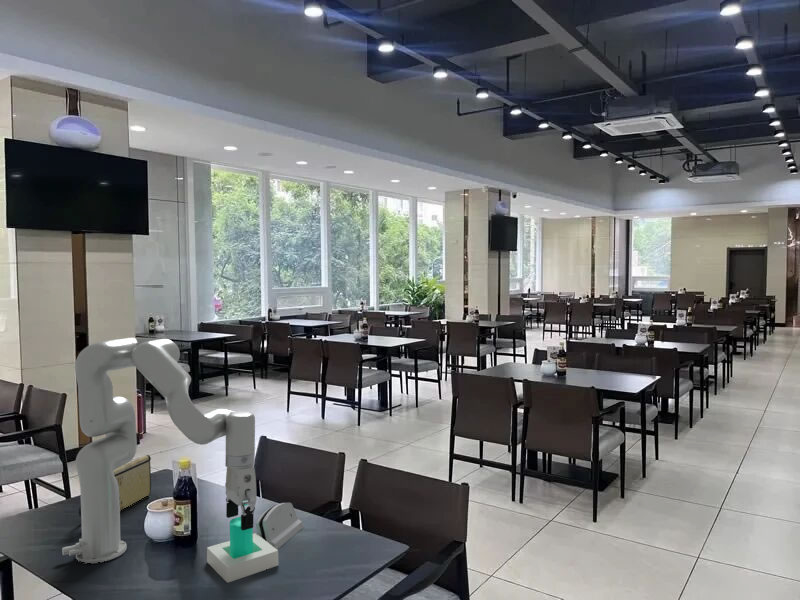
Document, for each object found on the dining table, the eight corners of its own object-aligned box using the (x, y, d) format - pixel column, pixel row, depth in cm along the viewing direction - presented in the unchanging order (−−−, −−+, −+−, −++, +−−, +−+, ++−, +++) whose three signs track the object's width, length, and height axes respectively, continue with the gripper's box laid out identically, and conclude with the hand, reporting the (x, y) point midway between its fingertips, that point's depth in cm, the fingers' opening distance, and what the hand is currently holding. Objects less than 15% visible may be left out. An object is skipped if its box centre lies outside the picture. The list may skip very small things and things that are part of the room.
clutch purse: (137, 493, 207) (137, 452, 206) (154, 495, 205) (153, 453, 204) (72, 527, 178) (71, 480, 177) (91, 530, 176) (90, 481, 176)
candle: (232, 555, 156) (231, 511, 156) (255, 554, 157) (254, 510, 156) (227, 565, 150) (226, 520, 150) (251, 564, 151) (250, 519, 150)
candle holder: (227, 582, 143) (227, 567, 143) (207, 562, 154) (206, 547, 154) (278, 565, 152) (278, 550, 152) (255, 546, 163) (255, 533, 163)
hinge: (276, 550, 161) (265, 515, 162) (262, 553, 162) (251, 519, 163) (304, 526, 177) (294, 495, 178) (291, 529, 178) (281, 498, 179)
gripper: (267, 464, 148) (266, 530, 149) (240, 448, 162) (239, 508, 162) (239, 470, 143) (239, 537, 144) (214, 453, 157) (213, 515, 158)
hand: (239, 522), depth 153 cm, fingers open, 9 cm apart
